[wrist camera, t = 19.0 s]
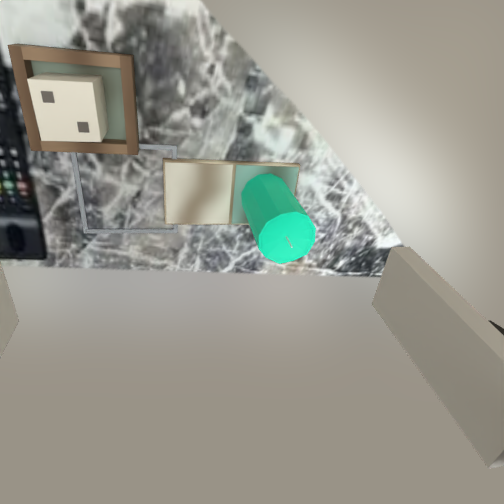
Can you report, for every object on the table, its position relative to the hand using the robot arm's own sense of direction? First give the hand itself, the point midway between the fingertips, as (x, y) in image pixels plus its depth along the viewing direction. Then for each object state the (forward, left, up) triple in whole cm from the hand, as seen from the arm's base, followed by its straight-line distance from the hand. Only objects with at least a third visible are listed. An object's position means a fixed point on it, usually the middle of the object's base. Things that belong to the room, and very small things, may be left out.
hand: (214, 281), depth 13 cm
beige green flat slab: (+5, -10, -31) cm, 33 cm away
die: (-10, 0, -30) cm, 32 cm away
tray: (-10, 0, -31) cm, 32 cm away
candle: (+9, -10, -30) cm, 33 cm away
